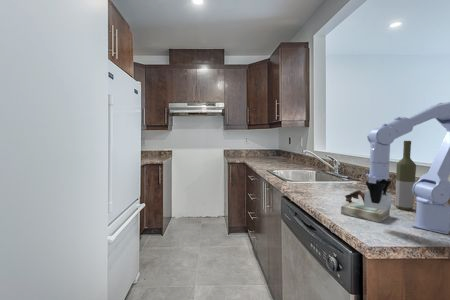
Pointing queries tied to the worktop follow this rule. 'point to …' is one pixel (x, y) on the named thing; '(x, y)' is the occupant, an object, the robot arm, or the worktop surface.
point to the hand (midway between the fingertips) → (377, 201)
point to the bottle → (405, 179)
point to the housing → (383, 204)
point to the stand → (364, 212)
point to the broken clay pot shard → (355, 196)
